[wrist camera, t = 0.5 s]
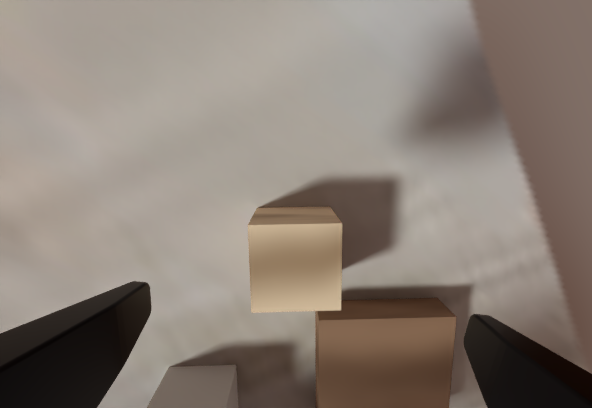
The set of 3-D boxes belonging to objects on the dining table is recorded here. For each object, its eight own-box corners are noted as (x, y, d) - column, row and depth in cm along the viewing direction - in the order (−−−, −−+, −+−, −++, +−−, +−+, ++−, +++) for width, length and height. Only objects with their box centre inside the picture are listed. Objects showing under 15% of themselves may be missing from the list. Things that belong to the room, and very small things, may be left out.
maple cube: (329, 274, 22) (341, 310, 17) (259, 276, 22) (251, 312, 17) (329, 206, 21) (342, 223, 16) (257, 207, 21) (247, 225, 16)
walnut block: (427, 399, 24) (446, 434, 21) (315, 403, 24) (319, 438, 21) (434, 295, 23) (456, 316, 20) (315, 298, 23) (319, 320, 20)
